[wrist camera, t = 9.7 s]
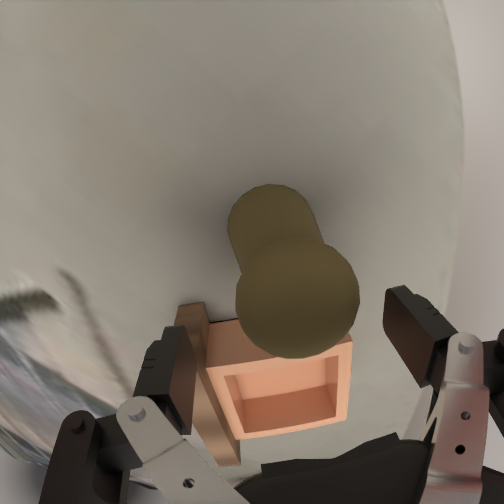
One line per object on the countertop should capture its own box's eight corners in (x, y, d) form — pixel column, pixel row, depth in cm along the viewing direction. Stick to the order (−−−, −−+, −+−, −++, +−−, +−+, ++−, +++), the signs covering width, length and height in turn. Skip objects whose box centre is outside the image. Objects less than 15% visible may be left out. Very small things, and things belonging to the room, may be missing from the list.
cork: (329, 231, 21) (402, 322, 11) (265, 281, 23) (288, 397, 13) (277, 165, 19) (328, 212, 9) (209, 223, 21) (189, 321, 10)
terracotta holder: (209, 323, 24) (205, 367, 19) (332, 301, 23) (352, 341, 19) (234, 399, 28) (235, 439, 23) (332, 381, 28) (345, 419, 23)
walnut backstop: (178, 305, 23) (163, 369, 17) (203, 302, 23) (195, 366, 17) (219, 411, 29) (219, 466, 22) (238, 408, 29) (240, 464, 22)
